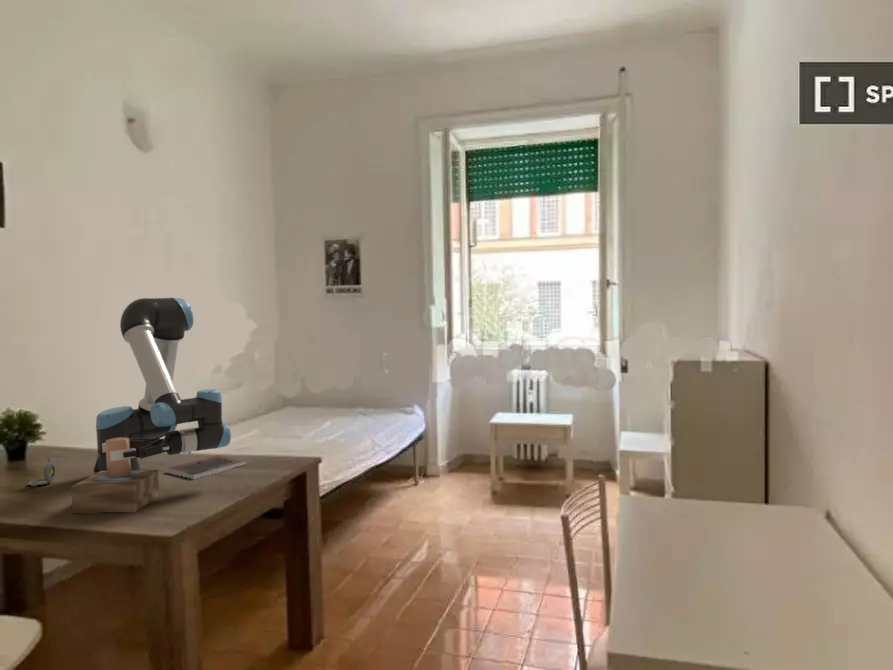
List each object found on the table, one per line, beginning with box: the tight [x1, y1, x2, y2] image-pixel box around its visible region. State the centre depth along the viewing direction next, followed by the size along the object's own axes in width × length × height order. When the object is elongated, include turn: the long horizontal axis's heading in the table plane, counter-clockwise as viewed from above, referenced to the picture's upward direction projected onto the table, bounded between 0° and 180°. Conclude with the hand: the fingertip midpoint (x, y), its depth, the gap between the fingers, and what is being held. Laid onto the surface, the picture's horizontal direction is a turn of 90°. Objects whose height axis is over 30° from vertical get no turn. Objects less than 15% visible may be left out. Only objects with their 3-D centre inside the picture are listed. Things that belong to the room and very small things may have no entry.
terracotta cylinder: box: [106, 437, 131, 478], centre depth 199 cm, size 6×6×11 cm
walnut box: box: [70, 469, 160, 514], centre depth 198 cm, size 17×18×8 cm
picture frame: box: [165, 454, 247, 480], centre depth 237 cm, size 16×2×22 cm
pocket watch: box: [27, 454, 58, 487], centre depth 220 cm, size 8×8×10 cm
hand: (106, 452), depth 196 cm, fingers open, 13 cm apart
